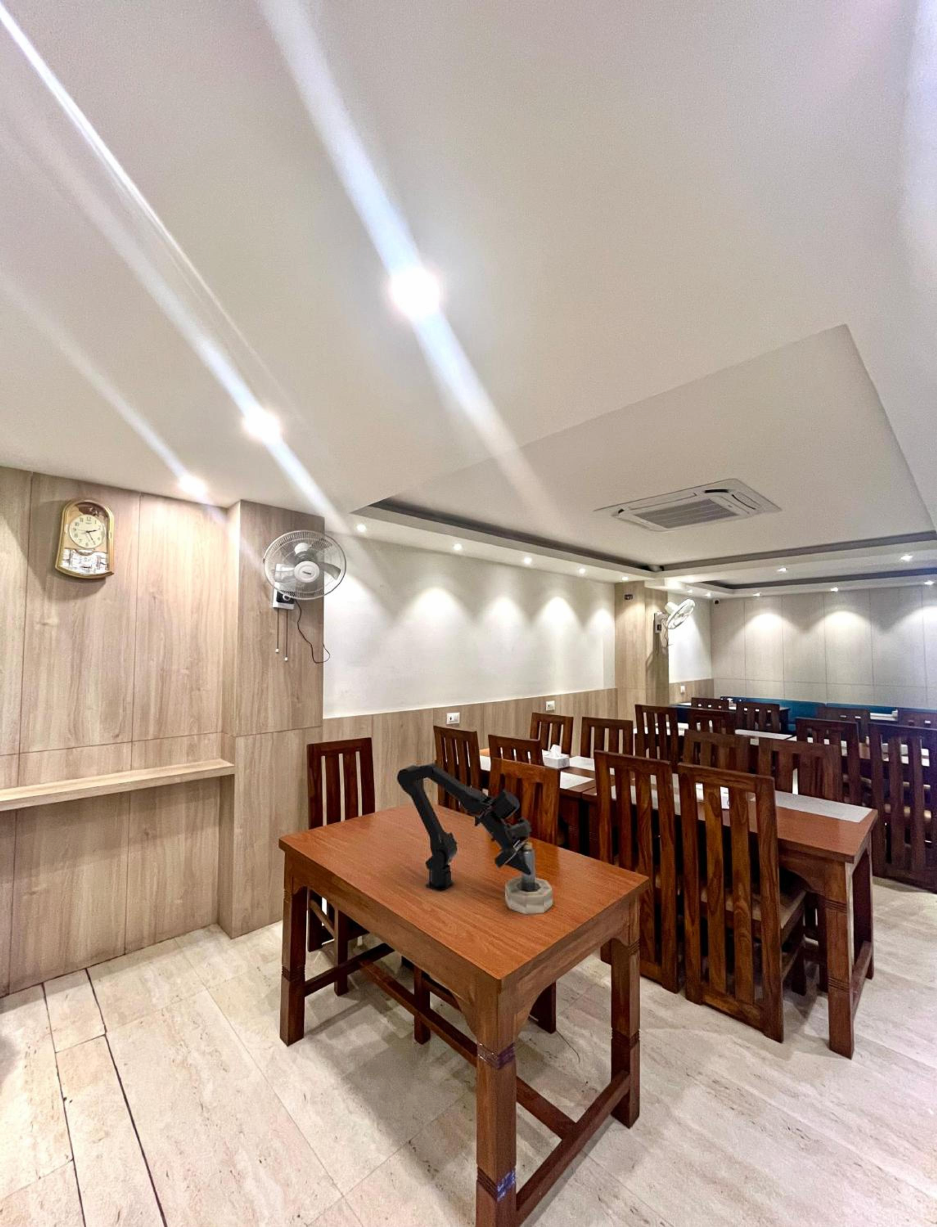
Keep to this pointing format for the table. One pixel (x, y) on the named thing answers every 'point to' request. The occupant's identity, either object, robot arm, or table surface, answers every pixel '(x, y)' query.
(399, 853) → the table surface
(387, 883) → the table surface
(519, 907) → the cream octagonal ring
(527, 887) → the bottle
